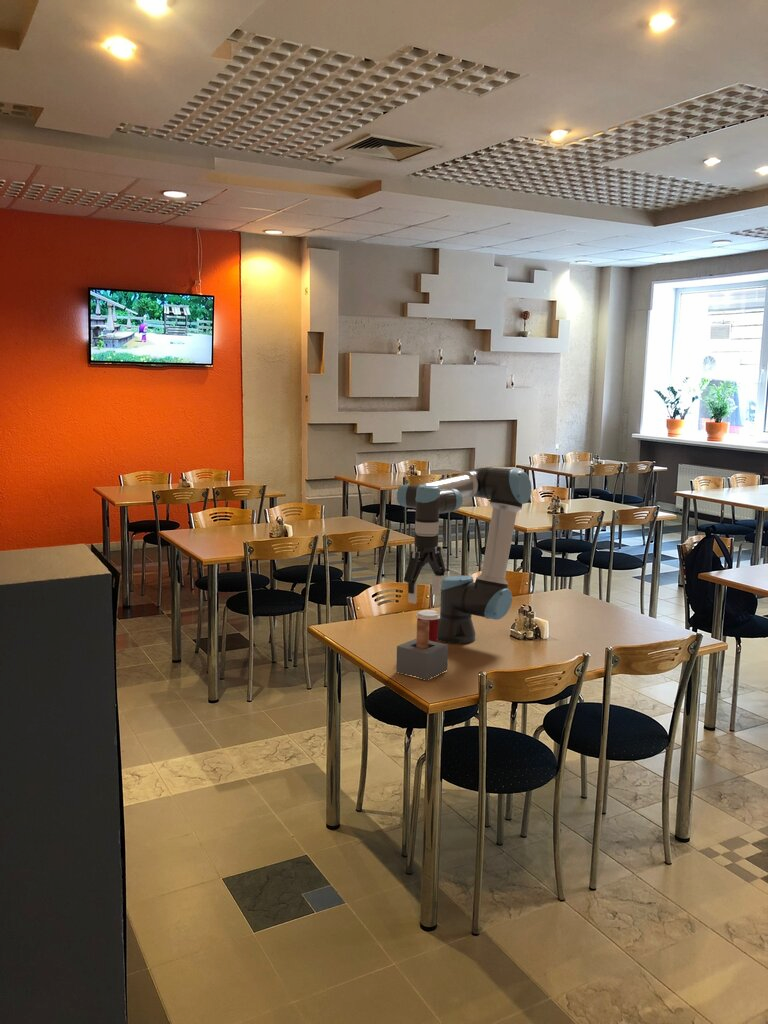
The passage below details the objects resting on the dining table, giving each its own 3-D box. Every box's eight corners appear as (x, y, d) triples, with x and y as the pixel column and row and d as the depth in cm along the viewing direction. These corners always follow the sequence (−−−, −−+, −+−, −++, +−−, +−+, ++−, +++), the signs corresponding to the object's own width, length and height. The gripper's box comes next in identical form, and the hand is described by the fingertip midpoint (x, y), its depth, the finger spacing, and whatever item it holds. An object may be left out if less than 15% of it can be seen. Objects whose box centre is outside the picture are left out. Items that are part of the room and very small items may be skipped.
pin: (420, 660, 282) (421, 619, 280) (430, 663, 280) (431, 621, 278) (413, 663, 279) (414, 622, 277) (423, 666, 277) (424, 624, 274)
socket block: (417, 663, 288) (418, 637, 287) (447, 671, 281) (448, 645, 280) (396, 672, 279) (397, 646, 277) (426, 681, 272) (427, 653, 270)
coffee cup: (437, 650, 302) (439, 609, 300) (439, 658, 294) (441, 616, 292) (413, 650, 302) (415, 609, 300) (415, 658, 294) (416, 615, 291)
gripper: (438, 527, 285) (436, 589, 288) (393, 537, 265) (392, 604, 269) (457, 530, 280) (455, 593, 284) (413, 541, 261) (411, 608, 264)
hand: (424, 598), depth 276 cm, fingers open, 13 cm apart
